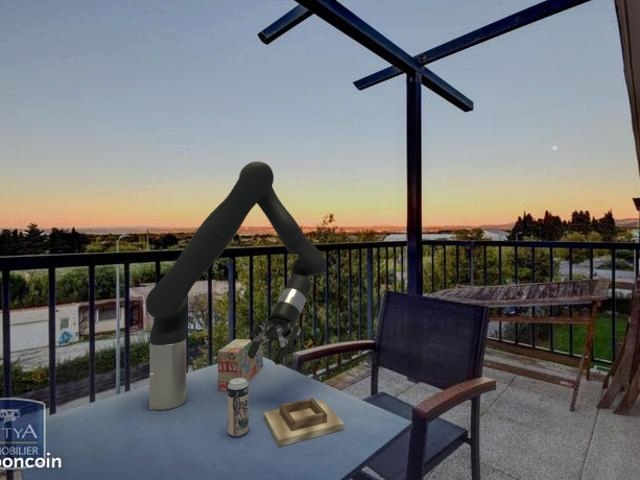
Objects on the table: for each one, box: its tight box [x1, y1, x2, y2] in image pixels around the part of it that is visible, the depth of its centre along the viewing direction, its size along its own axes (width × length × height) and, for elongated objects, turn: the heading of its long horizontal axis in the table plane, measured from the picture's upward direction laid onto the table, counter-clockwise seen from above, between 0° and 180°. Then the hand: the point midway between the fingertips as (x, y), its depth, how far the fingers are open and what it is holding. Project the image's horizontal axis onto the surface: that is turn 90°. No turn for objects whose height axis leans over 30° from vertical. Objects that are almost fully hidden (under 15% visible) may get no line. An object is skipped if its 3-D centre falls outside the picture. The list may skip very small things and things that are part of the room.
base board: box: [263, 397, 345, 447], centre depth 82 cm, size 16×13×4 cm
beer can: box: [227, 377, 250, 437], centre depth 78 cm, size 5×5×12 cm
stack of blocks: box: [217, 338, 264, 393], centre depth 110 cm, size 21×6×12 cm, turn 169°
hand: (262, 360), depth 86 cm, fingers open, 8 cm apart
